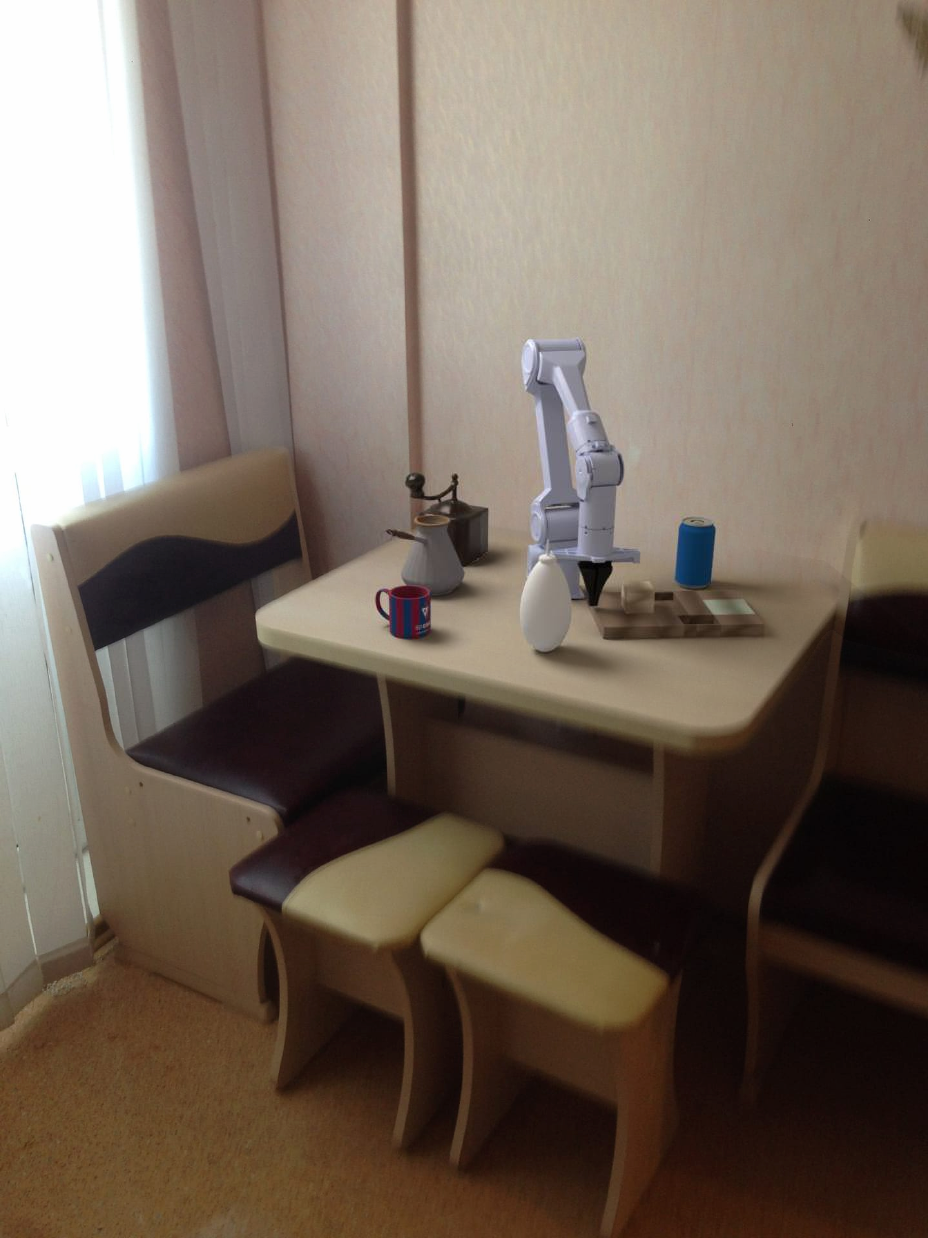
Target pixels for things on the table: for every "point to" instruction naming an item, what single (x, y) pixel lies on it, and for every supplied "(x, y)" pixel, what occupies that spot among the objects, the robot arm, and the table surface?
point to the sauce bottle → (546, 604)
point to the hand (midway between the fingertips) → (592, 604)
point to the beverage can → (695, 552)
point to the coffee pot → (431, 556)
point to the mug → (407, 611)
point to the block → (637, 597)
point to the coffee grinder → (456, 518)
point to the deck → (678, 616)
